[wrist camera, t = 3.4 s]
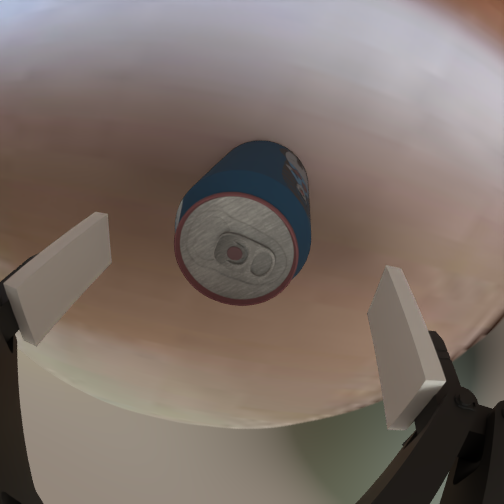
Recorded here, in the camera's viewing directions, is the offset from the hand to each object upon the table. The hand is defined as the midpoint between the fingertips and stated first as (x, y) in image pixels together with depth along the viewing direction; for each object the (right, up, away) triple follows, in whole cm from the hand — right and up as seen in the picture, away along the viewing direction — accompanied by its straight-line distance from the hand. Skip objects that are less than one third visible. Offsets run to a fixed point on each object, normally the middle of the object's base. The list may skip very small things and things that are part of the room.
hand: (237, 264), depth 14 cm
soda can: (+2, +6, +11) cm, 13 cm away
